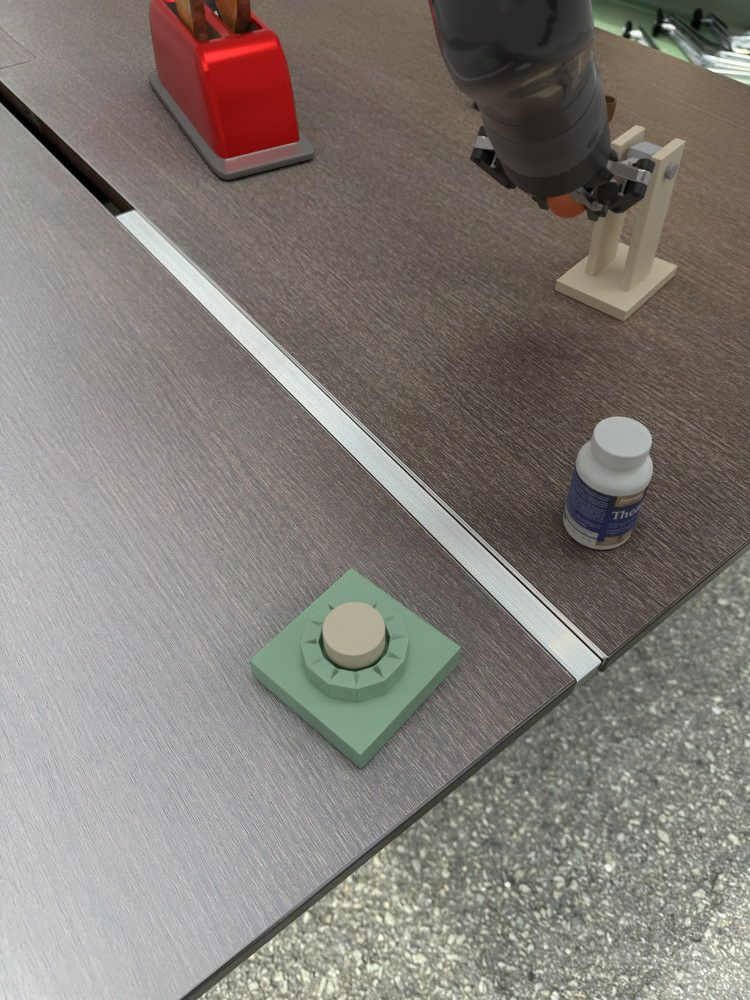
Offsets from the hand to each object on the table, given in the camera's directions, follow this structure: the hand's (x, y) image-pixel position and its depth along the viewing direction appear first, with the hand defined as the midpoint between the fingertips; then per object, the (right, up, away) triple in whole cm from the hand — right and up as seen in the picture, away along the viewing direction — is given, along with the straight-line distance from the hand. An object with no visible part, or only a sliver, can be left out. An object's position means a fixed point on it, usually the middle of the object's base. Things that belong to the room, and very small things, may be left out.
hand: (572, 203), depth 70 cm
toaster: (-36, +25, +41) cm, 60 cm away
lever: (+3, +1, +3) cm, 4 cm away
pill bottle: (+1, -27, -5) cm, 27 cm away
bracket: (+8, -3, +15) cm, 18 cm away
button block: (-18, -36, -13) cm, 43 cm away
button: (-18, -34, -16) cm, 42 cm away
